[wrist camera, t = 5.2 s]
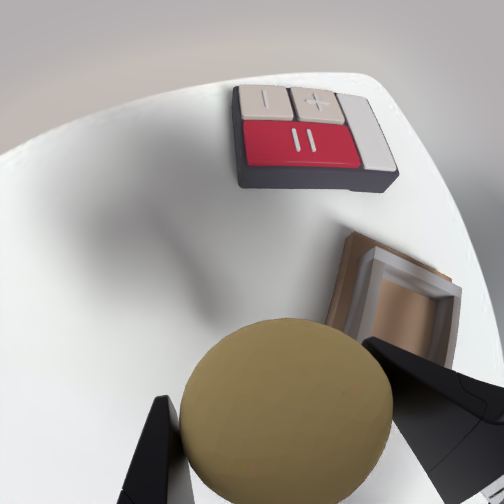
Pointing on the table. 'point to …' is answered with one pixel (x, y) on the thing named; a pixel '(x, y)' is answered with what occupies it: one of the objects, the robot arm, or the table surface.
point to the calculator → (308, 140)
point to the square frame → (395, 301)
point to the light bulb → (285, 414)
